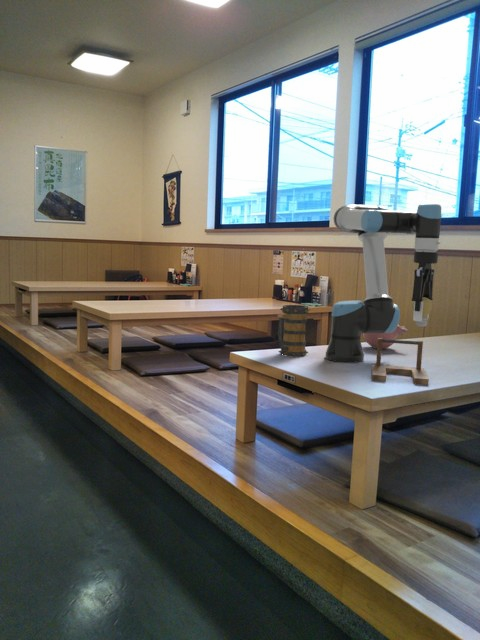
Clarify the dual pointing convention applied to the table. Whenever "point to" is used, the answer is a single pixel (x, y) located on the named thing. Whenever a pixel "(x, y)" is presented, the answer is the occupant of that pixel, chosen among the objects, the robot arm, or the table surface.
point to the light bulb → (424, 312)
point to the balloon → (384, 337)
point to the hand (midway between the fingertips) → (420, 319)
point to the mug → (293, 330)
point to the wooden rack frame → (416, 372)
